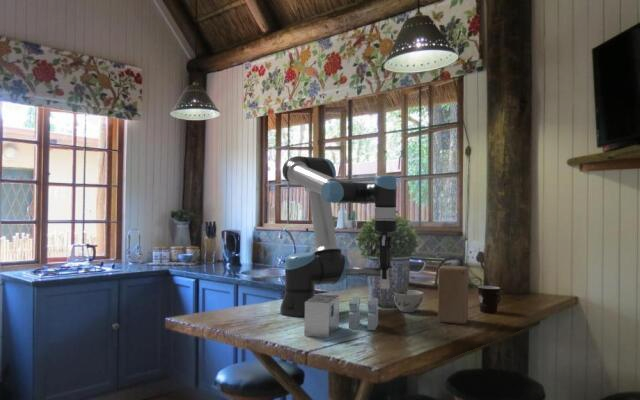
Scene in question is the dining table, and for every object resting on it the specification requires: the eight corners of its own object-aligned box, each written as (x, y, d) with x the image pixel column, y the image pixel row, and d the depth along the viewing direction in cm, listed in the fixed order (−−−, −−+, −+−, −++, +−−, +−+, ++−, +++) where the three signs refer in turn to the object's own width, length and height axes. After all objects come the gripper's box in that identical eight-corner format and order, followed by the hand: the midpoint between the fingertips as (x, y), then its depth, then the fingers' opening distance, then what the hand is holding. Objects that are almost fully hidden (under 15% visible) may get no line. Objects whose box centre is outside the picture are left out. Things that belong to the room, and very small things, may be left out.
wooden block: (466, 324, 182) (466, 268, 183) (437, 322, 186) (438, 267, 186) (468, 319, 192) (468, 266, 192) (441, 317, 195) (441, 265, 196)
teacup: (409, 315, 198) (409, 294, 198) (385, 310, 208) (385, 290, 208) (433, 310, 208) (433, 291, 208) (409, 306, 217) (409, 287, 218)
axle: (345, 275, 178) (345, 266, 178) (346, 274, 181) (347, 266, 181) (391, 277, 174) (391, 268, 175) (392, 276, 177) (392, 267, 177)
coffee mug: (476, 309, 212) (476, 285, 213) (498, 310, 211) (498, 286, 211) (479, 314, 201) (479, 289, 201) (502, 316, 199) (502, 290, 199)
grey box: (304, 335, 163) (304, 301, 163) (316, 325, 179) (316, 294, 179) (328, 337, 161) (329, 303, 161) (338, 326, 177) (339, 295, 177)
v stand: (348, 328, 174) (348, 300, 174) (353, 322, 183) (353, 296, 183) (374, 330, 172) (375, 301, 172) (378, 324, 181) (378, 297, 181)
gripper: (394, 220, 168) (393, 291, 168) (398, 220, 184) (398, 285, 183) (371, 220, 170) (371, 290, 169) (377, 219, 186) (377, 284, 185)
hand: (385, 287), depth 176 cm, fingers closed on axle, 3 cm apart
